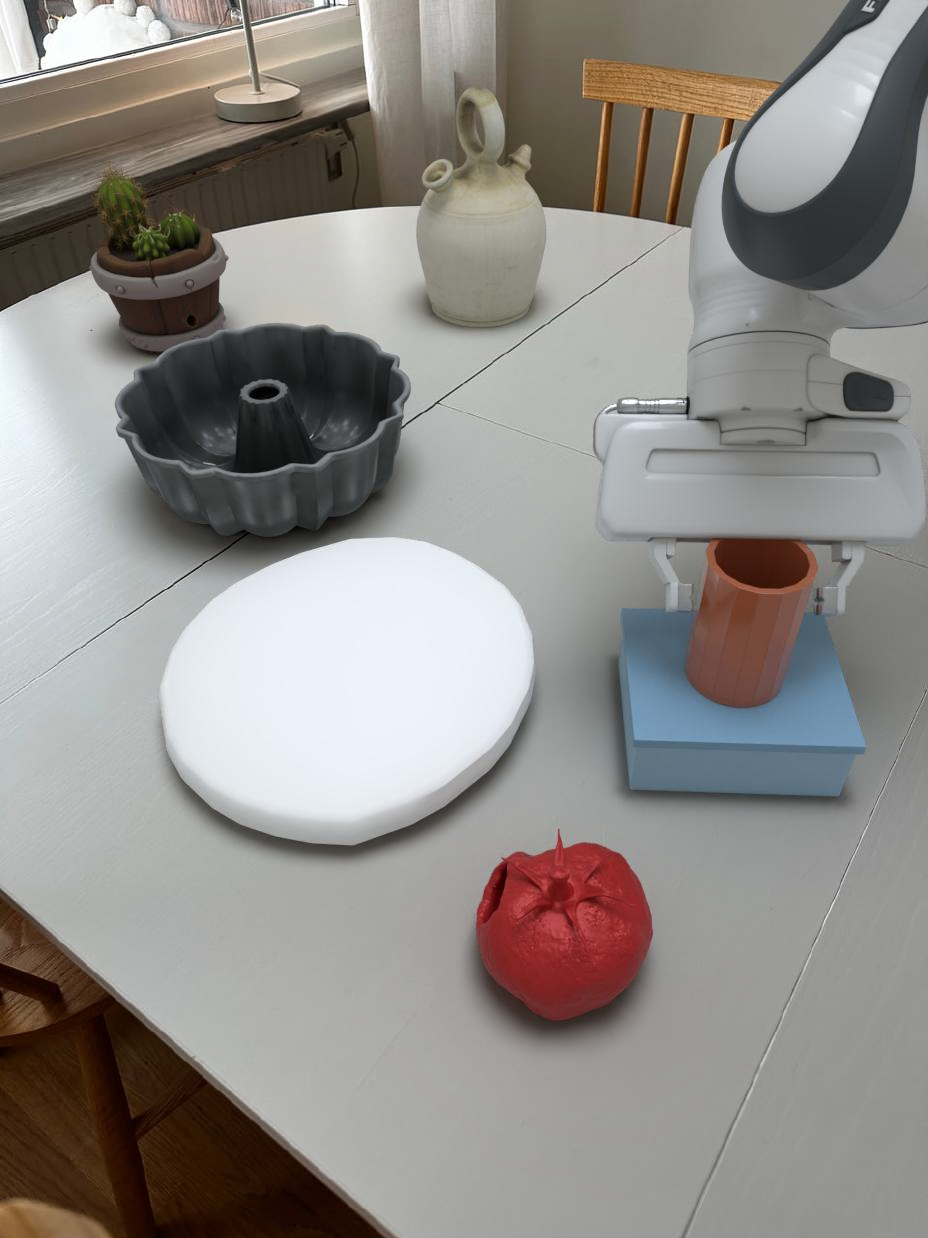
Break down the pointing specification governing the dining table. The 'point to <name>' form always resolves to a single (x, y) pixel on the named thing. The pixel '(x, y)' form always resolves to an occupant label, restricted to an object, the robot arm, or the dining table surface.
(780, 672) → the cup
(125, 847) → the dining table surface
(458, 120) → the jug
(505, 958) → the pomegranate
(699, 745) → the container
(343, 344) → the bundt pan
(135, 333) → the flowerpot
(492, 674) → the plate
